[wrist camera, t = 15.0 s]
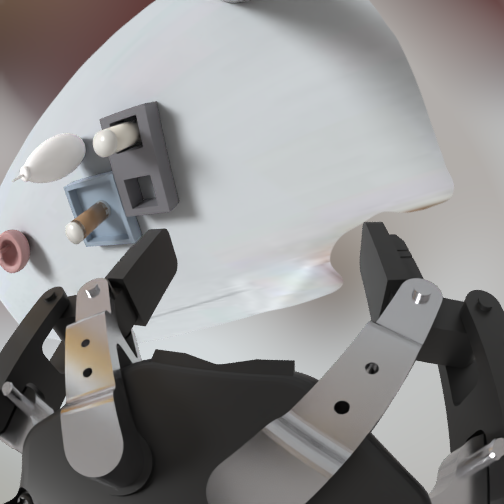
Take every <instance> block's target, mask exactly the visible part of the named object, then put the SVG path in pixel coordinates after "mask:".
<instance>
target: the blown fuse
mask: <svg viewBox="0 0 504 504" xmlns="http://www.w3.org/2000/svg"><path fill="white" fill-rule="evenodd" d="M110 215H111V208H110V206H109V204H108V203H107V202H105V201H103V200H99V201H98V202H96V203H95V204H94V205H92V206H91V207H89V208H88V209H87V210H86V211H84V212H83V213H82V214H80V215H79V216H78V217H76V218H75V219H74V220H73V221H71V222H70V223H69V224H68V225H67V226H66V227H65V233H66V236H67V238H68V239H69V240H70V241H71V242H72V243H74V244H79V243H80V242H81V241H82V240H84V239H85V238H86V237H87V236H88V235H89V234H90V233H91V232H92V231H93V230H95V229H96V228H97V227H98V226H99V225H100V224H101V223H103V222H104V221H105V220H106V219H107V218H108V217H109V216H110Z"/></svg>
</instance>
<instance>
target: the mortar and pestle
mask: <svg viewBox="0 0 504 504" xmlns="http://www.w3.org/2000/svg"><path fill="white" fill-rule="evenodd" d="M29 256H30V246H29V242H28V240H27V238H26V237H25V236H24V234H22V233H21V232H20V231H17V230H7V231H5V232H3V233H2V234H1V235H0V265H1V266H2V267H3V269H4V270H6V271H7V272H10V273H15V272H18V271H20V270H22V269H23V268H24V267H25V266H26V264H27V262H28V260H29Z"/></svg>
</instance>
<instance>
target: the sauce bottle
mask: <svg viewBox="0 0 504 504" xmlns="http://www.w3.org/2000/svg"><path fill="white" fill-rule="evenodd" d="M85 152H86V148H85V144H84V142H83V140H82V139H81V138H80V137H79V136H77V135H74V134H70V133H65V134H59V135H56V136H54V137H51V138H49V139H48V140H46V141H44V142H43V143H42V144H41V145H39V146H38V147H37V148H36V149H35V150H34V151H33V152H32V154H31V155H30V156H29V158H28V159H27V161H26V163H25V165H24V166H23V167H22V168H21V170H20V176H18V177H16V178H15V179H14V180H12V182H13V181H16V180H18V179H20V178H21V179H22V180H23V181H24V182H27V181H30V182H34V183H48V182H53V181H56V180H59V179H61V178H63V177H65V176H67V175H68V174H70V173H71V172H73V171H74V170H75V169H76V168H77V167H78V166H79V165H80V163H81V162H82V160H83V158H84V156H85Z"/></svg>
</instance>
